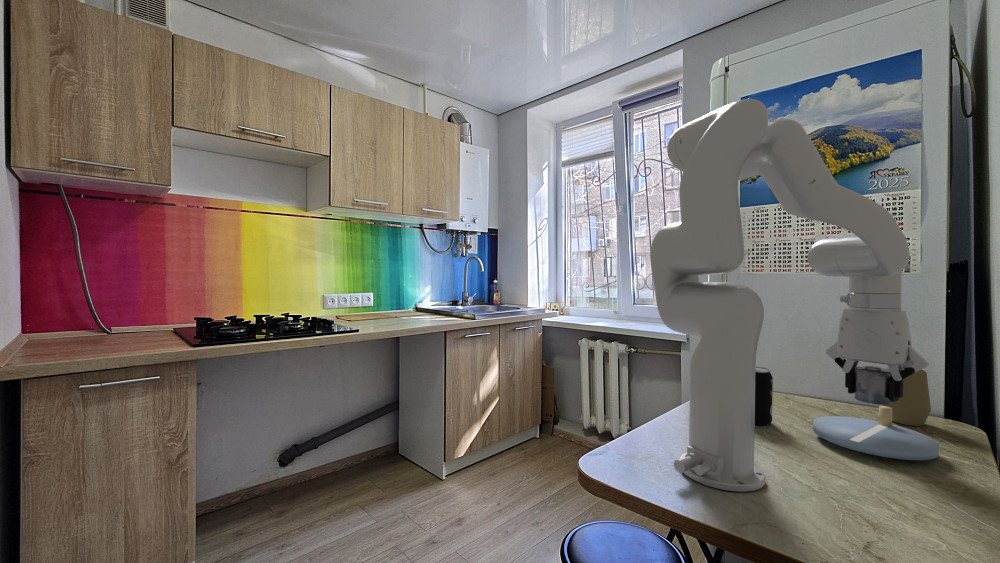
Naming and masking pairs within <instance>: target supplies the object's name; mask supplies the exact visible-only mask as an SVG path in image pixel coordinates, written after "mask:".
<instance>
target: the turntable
mask: <svg viewBox="0 0 1000 563" xmlns="http://www.w3.org/2000/svg"><path fill="white" fill-rule="evenodd" d="M812 424H813V426H812V428H813V429H812V430H813V433H815V435H817V436H819V437H820V438H821V439H824V440H825V441H827V442H830V443H831V444H835V445H836V446H837V445H838V446H840V447H843V448H846V449H849V450H853V451H855V452H860V453H864V454H867V453H868V454H867V455H871V454H872V455H871V456H876V455H877V457H883V458H890V459H897V460H905V461H928V460H929V461H930V460H933V459H936V458H938V457H939V453H940V445H939V443H938V442H937V440H935V439H934V438H932V437H930V436H928V435H925V434H923V433H921V432H918V431H916V430H913V429H910V428H906V427H903V426H899V425H896V424H893V421H892V408H891V407H886V406H883V405H879V406H878V421H877V420H873V419H867V418H860V417H853V416H839V415H836V416H835V415H827V416H821V417H816V418H815V419H813V422H812Z"/></svg>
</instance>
